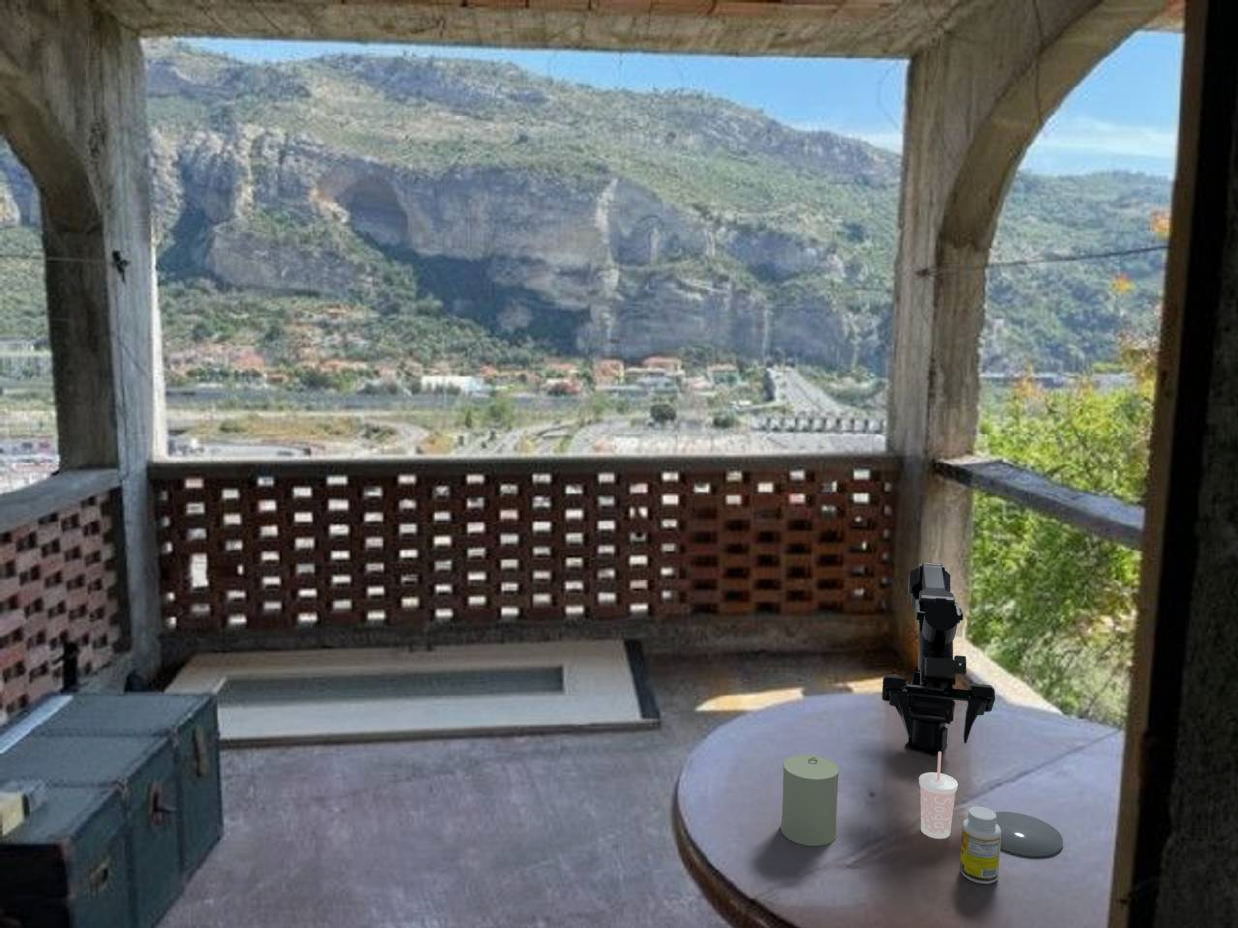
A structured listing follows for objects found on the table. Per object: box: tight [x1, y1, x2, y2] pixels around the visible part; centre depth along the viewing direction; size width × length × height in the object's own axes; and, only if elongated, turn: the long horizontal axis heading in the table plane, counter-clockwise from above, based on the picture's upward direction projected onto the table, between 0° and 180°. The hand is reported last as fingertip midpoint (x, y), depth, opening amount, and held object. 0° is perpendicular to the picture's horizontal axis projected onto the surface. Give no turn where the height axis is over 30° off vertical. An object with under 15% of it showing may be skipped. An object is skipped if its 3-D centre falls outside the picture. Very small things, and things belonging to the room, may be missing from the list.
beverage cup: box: [918, 751, 959, 840], centre depth 153 cm, size 6×6×14 cm
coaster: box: [994, 811, 1064, 858], centre depth 153 cm, size 13×13×1 cm
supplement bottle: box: [959, 806, 1001, 885], centre depth 141 cm, size 6×6×10 cm
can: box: [780, 753, 840, 847], centre depth 153 cm, size 9×9×12 cm
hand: (937, 739), depth 159 cm, fingers open, 9 cm apart
